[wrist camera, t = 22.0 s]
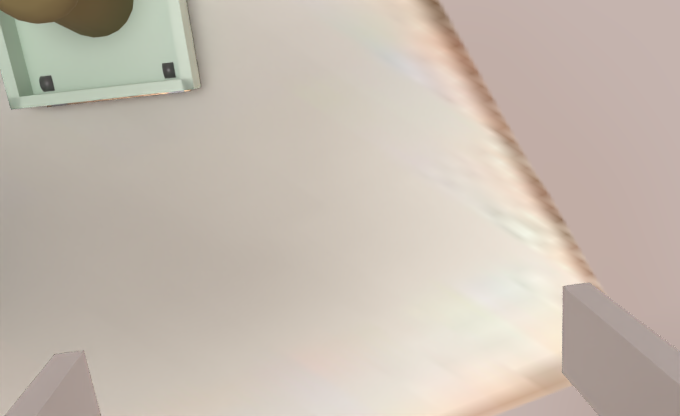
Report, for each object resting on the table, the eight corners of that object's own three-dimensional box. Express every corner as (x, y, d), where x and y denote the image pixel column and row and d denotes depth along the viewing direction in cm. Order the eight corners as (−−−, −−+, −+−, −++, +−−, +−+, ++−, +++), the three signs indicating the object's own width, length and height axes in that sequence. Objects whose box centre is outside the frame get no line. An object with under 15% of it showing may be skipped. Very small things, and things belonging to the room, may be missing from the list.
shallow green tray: (30, 105, 42) (10, 109, 39) (-18, -81, 38) (-44, -93, 35) (201, 87, 42) (194, 89, 39) (169, -99, 39) (159, -112, 36)
